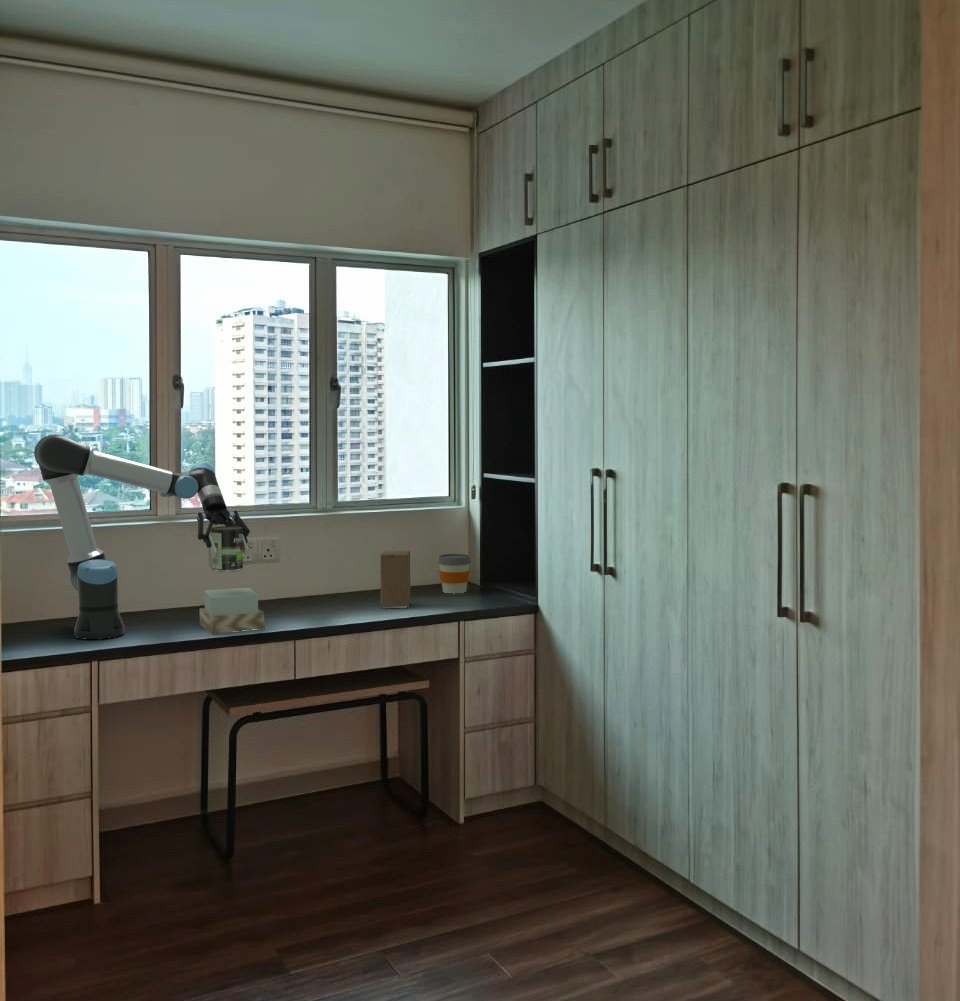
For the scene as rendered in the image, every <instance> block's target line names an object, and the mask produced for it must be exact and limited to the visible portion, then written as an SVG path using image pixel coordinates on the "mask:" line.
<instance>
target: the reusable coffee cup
mask: <svg viewBox="0 0 960 1001" xmlns="http://www.w3.org/2000/svg"><path fill="white" fill-rule="evenodd" d="M471 562H472V561H471V556H470V554H465V553H444V554H441V555H439V556H438V564H439V571H438V572H439V580H440V582H441V586H442V593H443V592H444V593H453V594H455V593H464V592H466V593H467V587H468V582H469V580H470V574H471V573H470V572H471V569H470V564H471Z"/></svg>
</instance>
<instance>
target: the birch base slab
mask: <svg viewBox="0 0 960 1001" xmlns="http://www.w3.org/2000/svg"><path fill="white" fill-rule="evenodd" d="M199 625H200V627H202V626H203V627H204V628H205V629H204V628H203V627H202V628H203V629H204V630H206V629H207V630H208V631H209V632H208V631H207V630H206V631H207V632H208V633H210V632H211V633H212V634H213V635H215V634H214V633H223V634H225V633H224V632H233V631H242V630H252V629H262V630H264V629H265V612H264V611H262V610H261V609H259V608H258V613H250V614H237V615H223V616H210V614H209V613H208V612H207V610H206V609H205V607H203V608H202V607H201V608H199ZM263 628H264V629H263ZM252 631H253V630H252ZM242 632H243V631H242ZM211 633H210V634H211ZM233 633H234V632H233ZM212 634H211V635H212Z"/></svg>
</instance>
